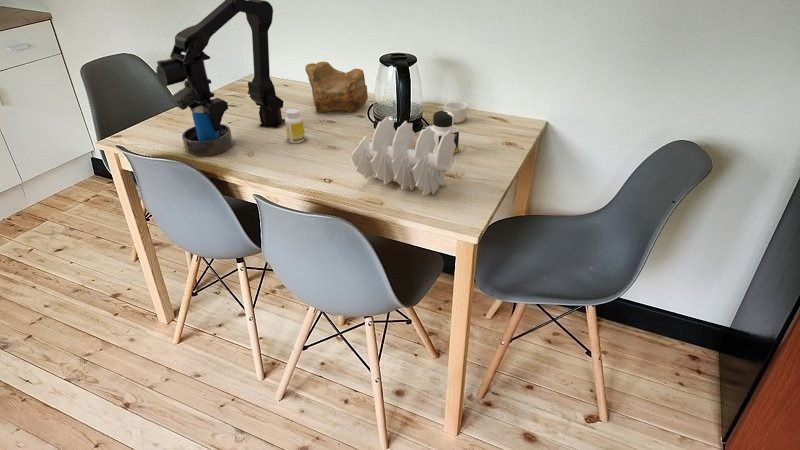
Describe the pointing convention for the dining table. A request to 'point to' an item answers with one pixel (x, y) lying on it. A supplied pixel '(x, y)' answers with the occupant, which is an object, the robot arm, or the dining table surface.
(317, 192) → the dining table surface
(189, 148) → the dark grey bowl
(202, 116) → the beverage can
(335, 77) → the rough brown rock
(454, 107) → the teacup
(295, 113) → the supplement bottle
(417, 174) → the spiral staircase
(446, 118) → the medicine bottle
